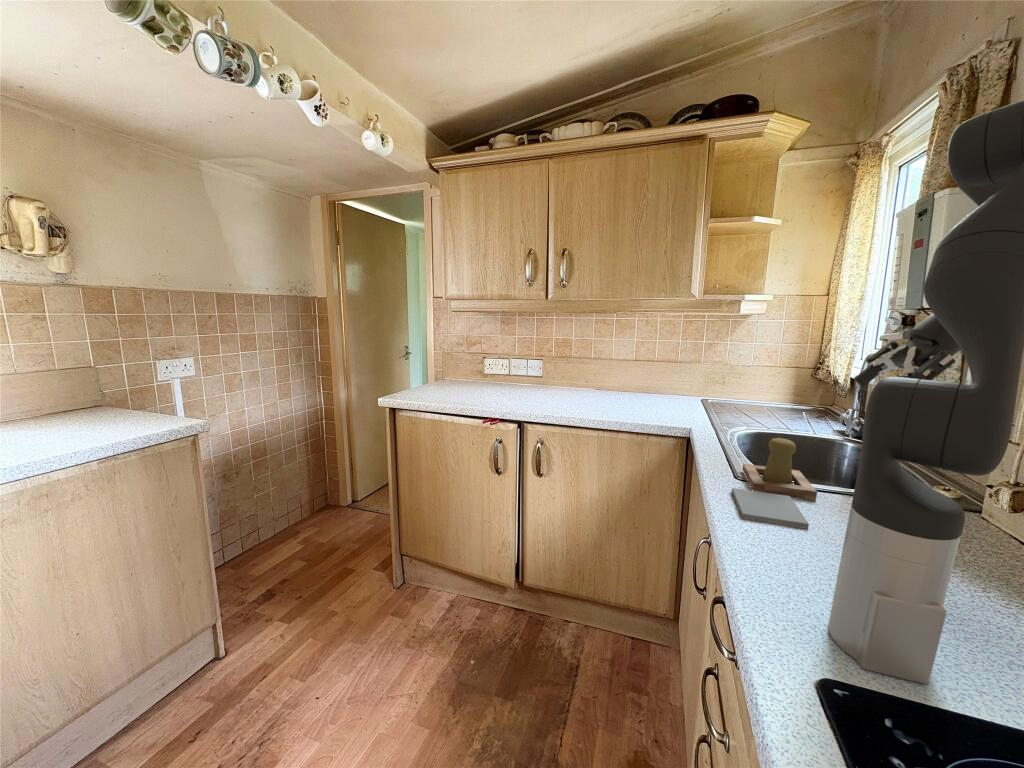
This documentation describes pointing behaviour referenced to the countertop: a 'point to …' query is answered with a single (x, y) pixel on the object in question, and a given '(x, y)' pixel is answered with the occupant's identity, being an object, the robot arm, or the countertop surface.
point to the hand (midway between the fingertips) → (870, 388)
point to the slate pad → (769, 508)
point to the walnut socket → (797, 490)
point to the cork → (779, 461)
